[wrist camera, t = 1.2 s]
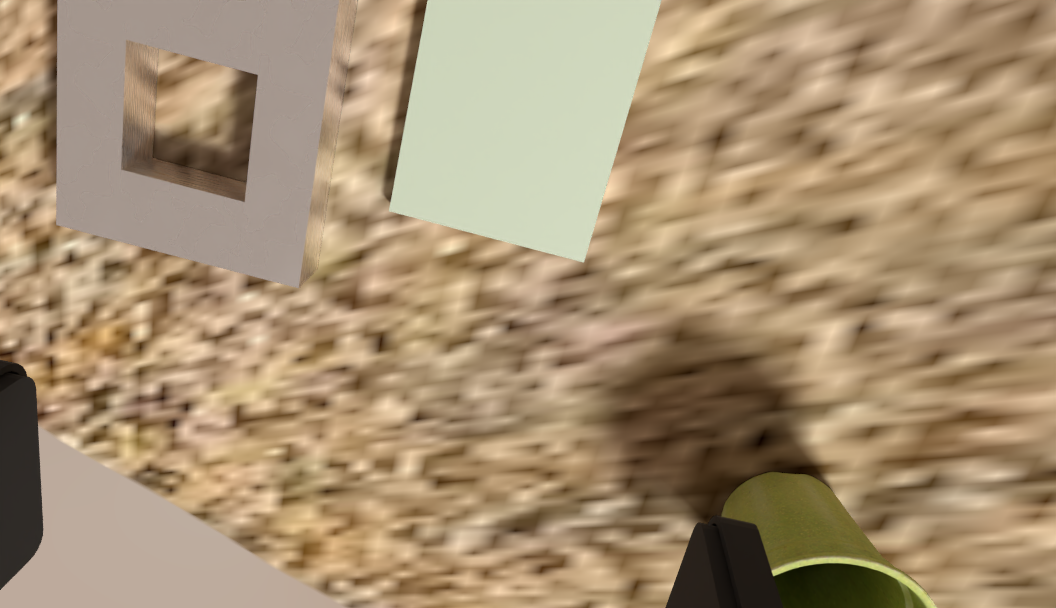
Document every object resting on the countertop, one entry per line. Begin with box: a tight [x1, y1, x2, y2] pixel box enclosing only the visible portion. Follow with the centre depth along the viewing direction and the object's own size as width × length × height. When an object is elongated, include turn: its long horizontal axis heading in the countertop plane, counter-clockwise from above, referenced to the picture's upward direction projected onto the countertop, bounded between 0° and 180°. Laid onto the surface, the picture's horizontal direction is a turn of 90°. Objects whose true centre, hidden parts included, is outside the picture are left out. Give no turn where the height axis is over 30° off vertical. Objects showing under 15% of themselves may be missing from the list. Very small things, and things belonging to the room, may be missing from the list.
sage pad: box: [389, 0, 661, 262], centre depth 32 cm, size 12×9×1 cm
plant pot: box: [721, 472, 937, 608], centre depth 35 cm, size 9×9×9 cm
